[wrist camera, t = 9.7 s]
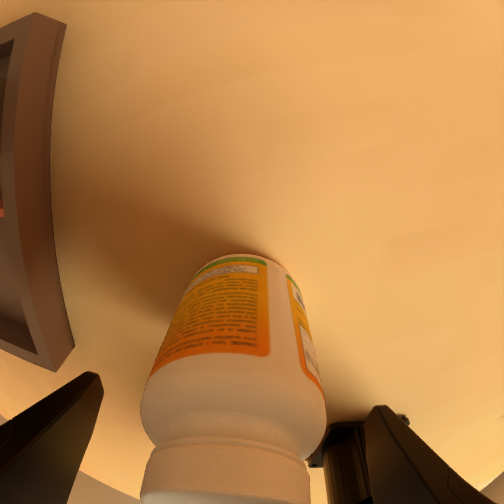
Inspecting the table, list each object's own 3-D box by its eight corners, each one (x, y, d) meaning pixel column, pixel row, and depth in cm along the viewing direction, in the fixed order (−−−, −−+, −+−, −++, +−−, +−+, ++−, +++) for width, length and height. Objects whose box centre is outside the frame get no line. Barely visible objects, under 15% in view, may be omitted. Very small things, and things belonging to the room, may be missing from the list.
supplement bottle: (168, 316, 14) (94, 497, 5) (222, 226, 12) (143, 443, 3) (260, 363, 15) (257, 542, 6) (325, 289, 13) (391, 495, 4)
